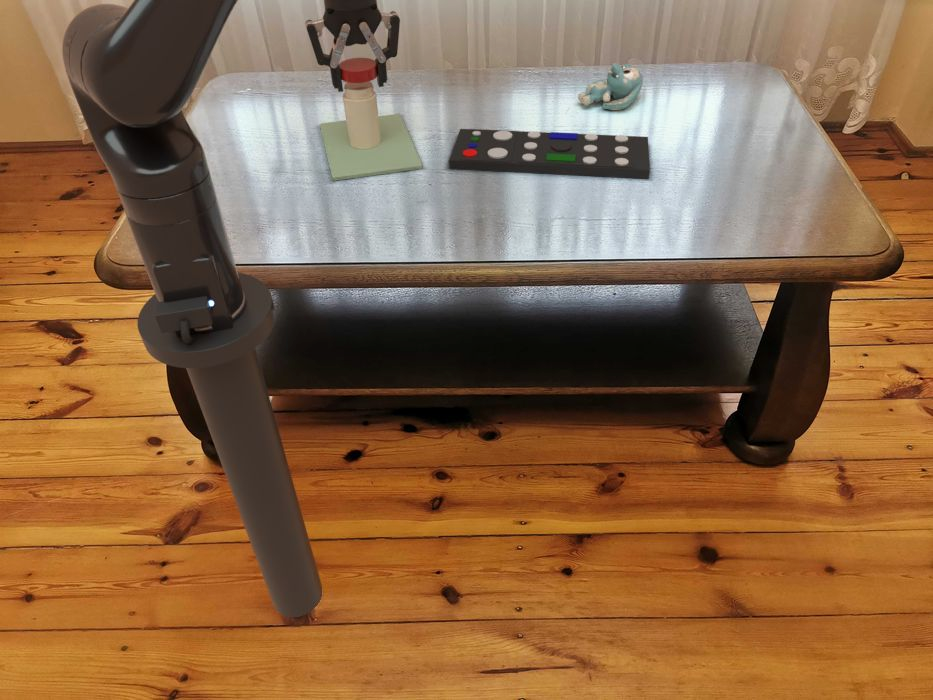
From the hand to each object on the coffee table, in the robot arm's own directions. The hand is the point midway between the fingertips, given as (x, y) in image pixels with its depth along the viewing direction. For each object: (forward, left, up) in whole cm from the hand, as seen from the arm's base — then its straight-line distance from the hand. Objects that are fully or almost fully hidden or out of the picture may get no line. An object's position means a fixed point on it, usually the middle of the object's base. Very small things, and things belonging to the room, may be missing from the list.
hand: (360, 87), depth 116 cm
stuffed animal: (+5, -44, -10) cm, 46 cm away
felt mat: (0, 0, -10) cm, 10 cm away
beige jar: (+1, 0, -9) cm, 9 cm away
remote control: (-12, -27, -10) cm, 31 cm away
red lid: (0, 0, +3) cm, 3 cm away
